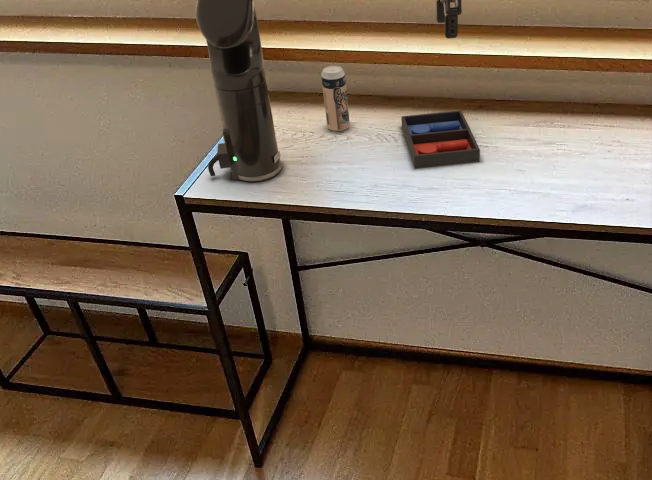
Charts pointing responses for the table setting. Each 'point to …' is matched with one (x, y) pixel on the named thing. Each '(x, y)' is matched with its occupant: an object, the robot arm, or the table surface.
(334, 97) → the beer can
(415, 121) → the sorting tray
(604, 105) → the table surface
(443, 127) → the blue spoon
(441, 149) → the red spoon
